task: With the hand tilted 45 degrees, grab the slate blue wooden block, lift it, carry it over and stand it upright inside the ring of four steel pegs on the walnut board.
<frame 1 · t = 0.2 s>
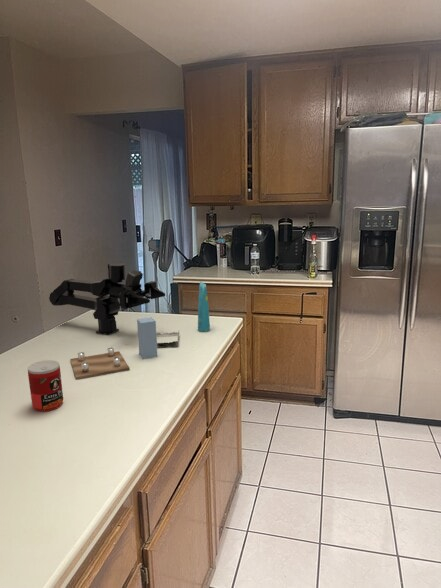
hand: (157, 297, 156), 17 cm above the counter, tool horizontal, fingers open, 9 cm apart
peg stand: (99, 365, 138), on the counter
tube: (204, 330, 173), on the counter
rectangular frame: (166, 343, 160), on the counter
slate blue block: (148, 355, 147), on the counter
canned food: (48, 405, 113), on the counter
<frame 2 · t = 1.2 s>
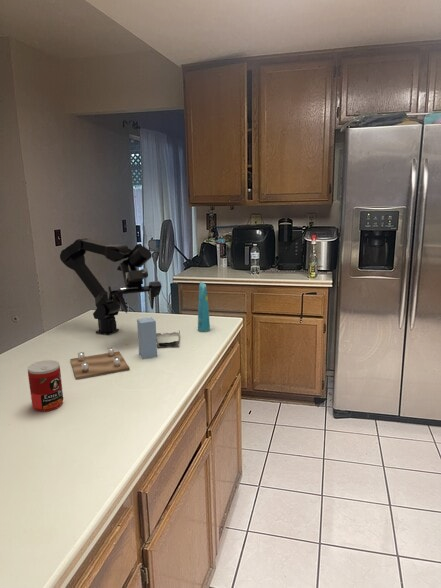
hand: (139, 310, 151), 14 cm above the counter, tool tilted 45°, fingers open, 9 cm apart
nothing on the counter moved.
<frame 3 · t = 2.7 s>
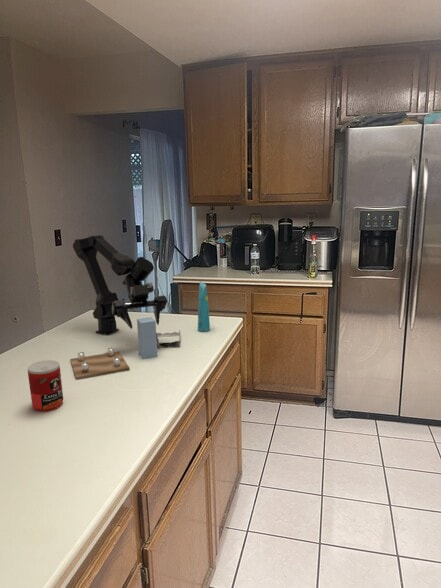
hand: (145, 326, 147), 10 cm above the counter, tool tilted 45°, fingers open, 9 cm apart
nothing on the counter moved.
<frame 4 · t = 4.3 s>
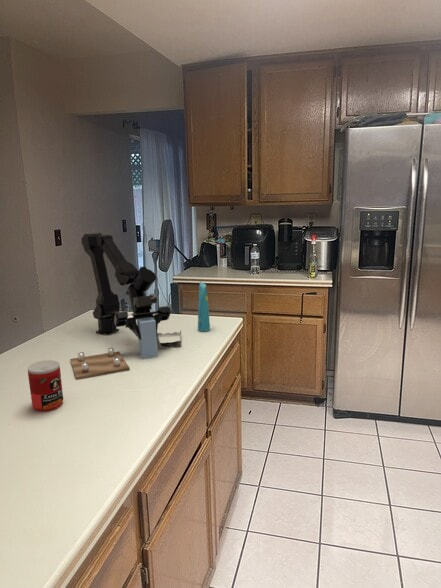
hand: (148, 338, 144), 7 cm above the counter, tool tilted 45°, fingers closed on slate blue block, 5 cm apart
slate blue block: (148, 355, 147), on the counter, touching gripper
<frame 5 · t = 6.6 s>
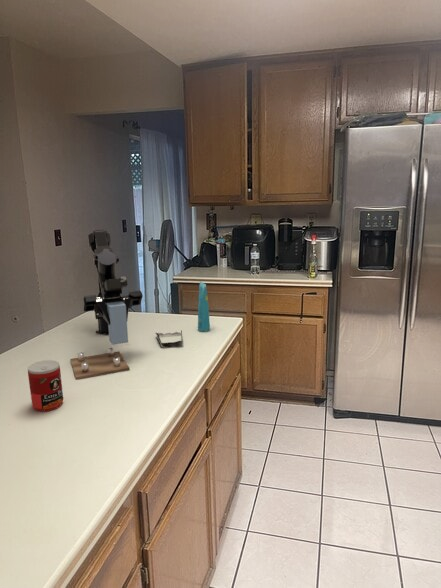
hand: (118, 322, 137), 14 cm above the counter, tool tilted 45°, fingers closed on slate blue block, 5 cm apart
slate blue block: (118, 341, 140), point 7 cm above the counter, touching gripper
when the fingers open (8 cm above the counter, at t = 8.9 s): slate blue block stays where it is, resting on peg stand.
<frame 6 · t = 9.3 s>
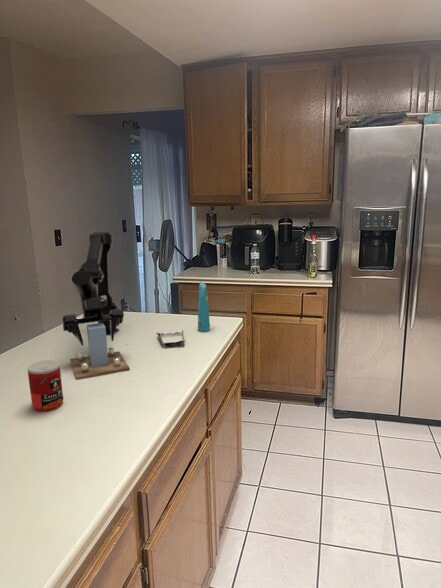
hand: (97, 342, 135), 8 cm above the counter, tool tilted 45°, fingers open, 9 cm apart
slate blue block: (99, 363, 138), point 1 cm above the counter, touching peg stand
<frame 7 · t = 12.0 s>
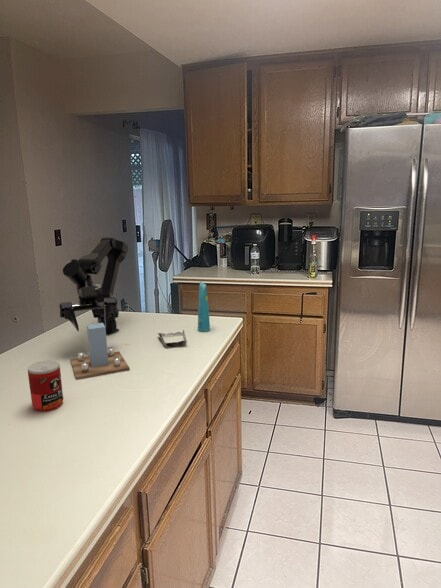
hand: (92, 328, 144), 10 cm above the counter, tool tilted 45°, fingers open, 9 cm apart
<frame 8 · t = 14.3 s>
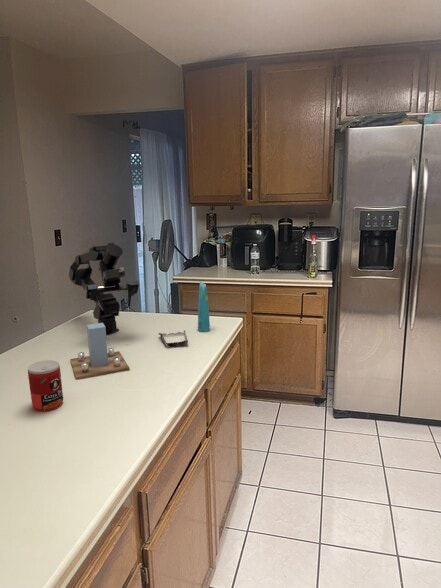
hand: (116, 308, 154), 14 cm above the counter, tool tilted 45°, fingers open, 9 cm apart
at the end: slate blue block 0.0 cm off-centre on the peg stand, point 0.8 cm above the peg stand's base; slate blue block tilted 0°; the gripper is holding nothing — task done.
